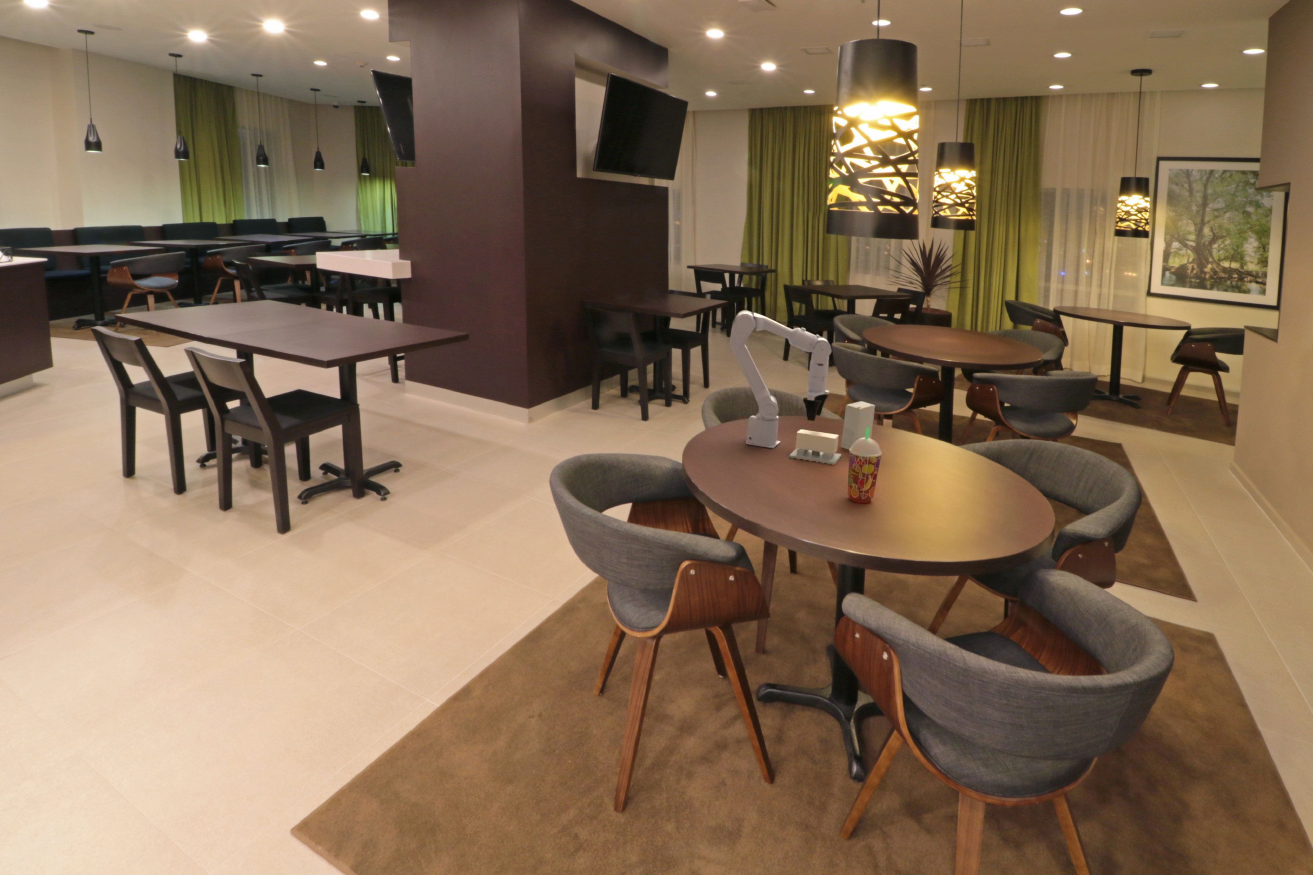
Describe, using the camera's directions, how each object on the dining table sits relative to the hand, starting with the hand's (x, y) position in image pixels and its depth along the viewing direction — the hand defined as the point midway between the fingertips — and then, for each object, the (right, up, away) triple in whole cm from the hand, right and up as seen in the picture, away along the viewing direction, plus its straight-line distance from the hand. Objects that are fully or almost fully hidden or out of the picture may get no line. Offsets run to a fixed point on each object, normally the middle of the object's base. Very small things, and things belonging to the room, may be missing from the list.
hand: (813, 417), depth 255 cm
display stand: (-1, -12, -8) cm, 15 cm away
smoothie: (+4, -23, -42) cm, 49 cm away
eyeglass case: (-1, -10, -8) cm, 13 cm away
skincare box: (+14, -10, +4) cm, 18 cm away
